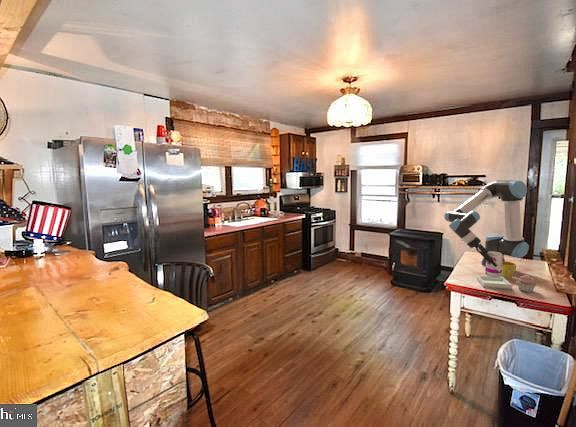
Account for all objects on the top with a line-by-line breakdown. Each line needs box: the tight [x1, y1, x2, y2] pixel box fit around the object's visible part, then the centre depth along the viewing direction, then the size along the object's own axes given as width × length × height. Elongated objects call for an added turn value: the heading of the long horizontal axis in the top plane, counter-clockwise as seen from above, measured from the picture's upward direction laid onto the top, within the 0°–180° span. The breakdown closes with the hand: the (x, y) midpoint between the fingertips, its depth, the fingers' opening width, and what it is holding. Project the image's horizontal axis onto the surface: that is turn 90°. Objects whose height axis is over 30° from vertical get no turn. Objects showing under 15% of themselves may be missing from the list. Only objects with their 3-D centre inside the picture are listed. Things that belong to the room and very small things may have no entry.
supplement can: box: [484, 251, 503, 278], centre depth 182 cm, size 8×8×15 cm
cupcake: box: [515, 273, 537, 293], centre depth 172 cm, size 9×9×10 cm
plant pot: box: [501, 260, 517, 280], centre depth 195 cm, size 10×10×10 cm
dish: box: [476, 275, 513, 291], centre depth 183 cm, size 15×15×3 cm
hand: (500, 268), depth 180 cm, fingers closed on supplement can, 8 cm apart
